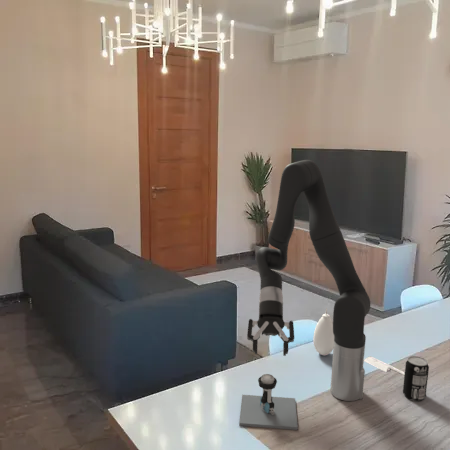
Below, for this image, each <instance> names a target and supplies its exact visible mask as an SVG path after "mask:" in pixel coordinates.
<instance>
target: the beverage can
mask: <svg viewBox="0 0 450 450" xmlns="http://www.w3.org/2000/svg"><path fill="white" fill-rule="evenodd" d="M428 364H429V362H428V360H427V359H425V358H424V357H421V356H416V355H412V356H409V357H407V360H406V362H405V367H404V368H405V369H404V372H405V375H404V378H403V386H402V393H403V395H404V397H406V399H409V400H410V401H414V402H415V401H416V402H420V401H423V400H425V398H426V396H427V389H428V388H427V387H428V379H429V370H430V366H429V365H428Z"/></svg>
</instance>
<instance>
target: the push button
mask: <svg viewBox="0 0 450 450" xmlns="http://www.w3.org/2000/svg"><path fill="white" fill-rule="evenodd" d="M257 381H258V386H259V387H260V388H262V396H263V397H261V399H260V405H261V409H262V410H263V409H264V410H265V411H266V412H267V413H271V414H272V413H273V412H274V410H273V409H274V403H273V402H272V397H273V396H272V393H273V392H272V390H273V389H276V386H277V383H278V381H277V378H276V377H274V375H273V374H270V373H265V374H262V375H261V376H259V377H258V379H257ZM272 415H274V413H273V414H272Z"/></svg>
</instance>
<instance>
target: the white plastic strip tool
mask: <svg viewBox="0 0 450 450" xmlns="http://www.w3.org/2000/svg"><path fill="white" fill-rule="evenodd" d="M364 362H365V363H367V364H369V365H371V366H373V367H375V368H377V369H378V370H381V371H383V372H385V373H387V372H388V371H389V372H390V371H394V372H396V373H398V374H399V375H401V376H404V375H405V371H403V370H401V369H398V368H397V367H394V366H392V365H391V364H388V363H385V362H384V361H382V360H380V359H377V358H375V357H373V356H368V357H364Z"/></svg>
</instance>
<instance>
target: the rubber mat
mask: <svg viewBox="0 0 450 450" xmlns="http://www.w3.org/2000/svg"><path fill="white" fill-rule="evenodd" d="M261 397H263V395H253V394H252V395H250V394H242V395H241V402H240V410H239V411H240V413H239V414H240V415H239V422H238V423H239V424H238V426H241V427H254V428H267V429H280V430H291V431H292V430H295V431H298V429H299V426H298V416H297V406H296V405H297V404H296V398H295V397H283V396H281V397H280V396H272V402H273V403H274V409H273V410H274V412H273V413H274V415H272V414H273V413H272V414H271V413H267V412H266V411H265V410H264V409H263V410H262V409H261V405H260V399H261Z"/></svg>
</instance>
